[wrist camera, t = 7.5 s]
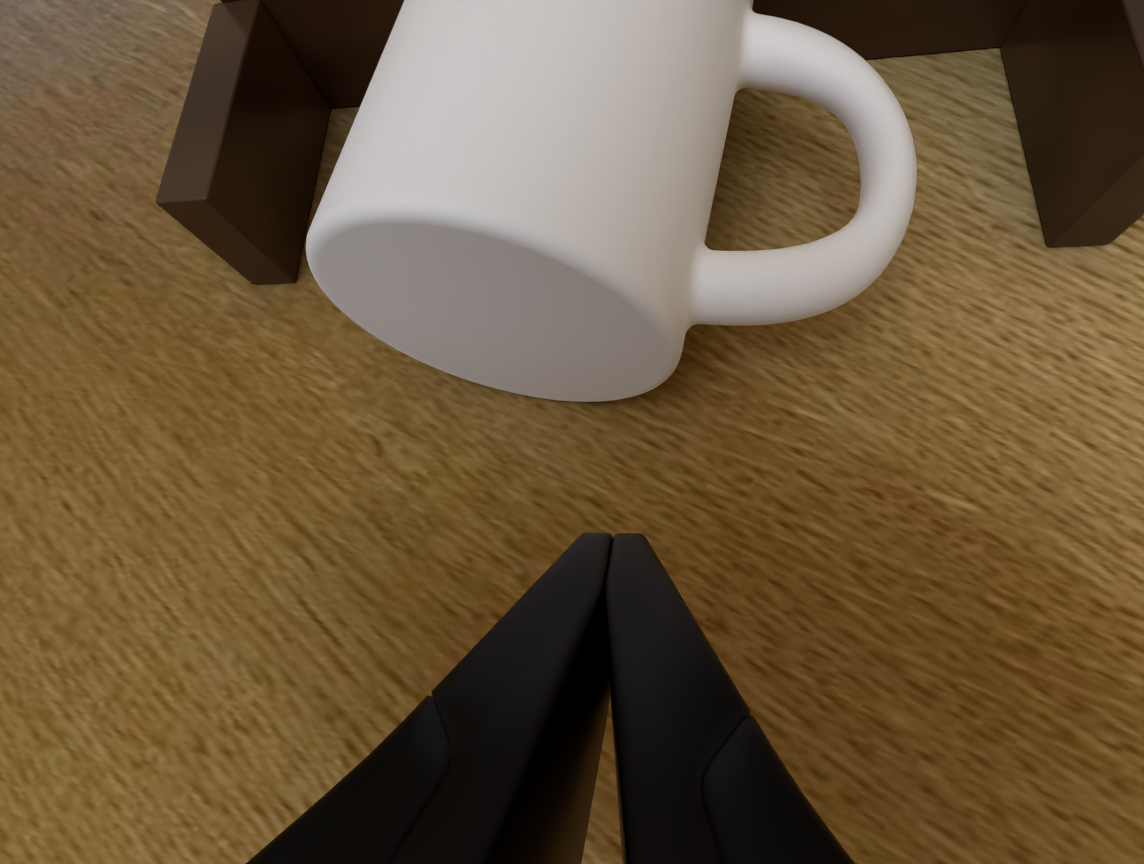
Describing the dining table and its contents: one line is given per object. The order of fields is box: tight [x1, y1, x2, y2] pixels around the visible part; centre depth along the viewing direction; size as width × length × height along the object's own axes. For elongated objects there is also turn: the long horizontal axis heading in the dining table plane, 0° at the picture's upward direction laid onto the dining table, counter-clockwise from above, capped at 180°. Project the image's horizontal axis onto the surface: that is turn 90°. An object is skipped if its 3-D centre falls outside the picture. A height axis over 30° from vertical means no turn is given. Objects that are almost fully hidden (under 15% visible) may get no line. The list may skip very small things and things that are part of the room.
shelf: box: [156, 0, 1144, 284], centre depth 16 cm, size 9×24×7 cm, turn 88°
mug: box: [306, 0, 917, 402], centre depth 14 cm, size 12×10×8 cm
